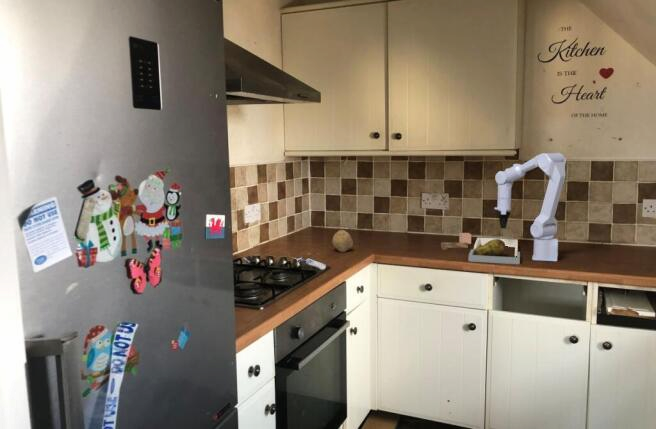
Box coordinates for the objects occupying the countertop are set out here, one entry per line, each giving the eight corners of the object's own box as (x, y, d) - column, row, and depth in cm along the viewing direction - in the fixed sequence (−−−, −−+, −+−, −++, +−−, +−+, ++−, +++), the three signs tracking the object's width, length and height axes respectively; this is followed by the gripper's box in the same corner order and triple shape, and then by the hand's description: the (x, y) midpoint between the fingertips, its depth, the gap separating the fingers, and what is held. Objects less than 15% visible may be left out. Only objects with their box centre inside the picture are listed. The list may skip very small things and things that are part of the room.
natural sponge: (328, 251, 251) (328, 229, 250) (344, 248, 256) (344, 227, 254) (339, 254, 243) (339, 232, 242) (355, 252, 248) (355, 230, 247)
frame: (519, 257, 234) (519, 251, 233) (519, 264, 221) (519, 258, 221) (471, 254, 240) (471, 249, 240) (468, 261, 228) (468, 255, 228)
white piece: (517, 246, 256) (517, 239, 255) (517, 256, 235) (517, 248, 235) (477, 244, 261) (477, 237, 261) (473, 254, 241) (473, 246, 241)
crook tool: (467, 246, 257) (467, 242, 257) (469, 249, 251) (469, 245, 251) (441, 246, 258) (441, 242, 258) (442, 249, 252) (443, 245, 252)
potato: (473, 254, 240) (473, 236, 239) (504, 256, 236) (505, 237, 235) (473, 259, 232) (473, 240, 231) (505, 260, 229) (505, 241, 227)
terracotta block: (468, 242, 269) (468, 232, 268) (470, 243, 264) (471, 234, 264) (459, 242, 269) (459, 233, 268) (461, 243, 264) (461, 234, 264)
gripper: (495, 196, 254) (494, 225, 256) (494, 199, 240) (493, 230, 242) (511, 196, 252) (510, 225, 254) (511, 200, 238) (510, 231, 240)
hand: (503, 228), depth 248 cm, fingers closed
